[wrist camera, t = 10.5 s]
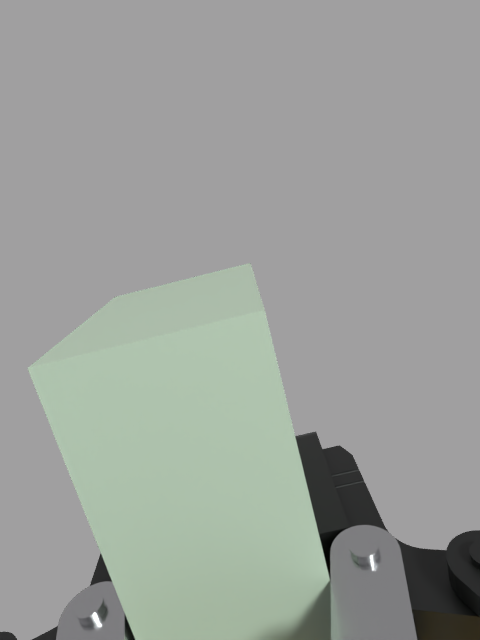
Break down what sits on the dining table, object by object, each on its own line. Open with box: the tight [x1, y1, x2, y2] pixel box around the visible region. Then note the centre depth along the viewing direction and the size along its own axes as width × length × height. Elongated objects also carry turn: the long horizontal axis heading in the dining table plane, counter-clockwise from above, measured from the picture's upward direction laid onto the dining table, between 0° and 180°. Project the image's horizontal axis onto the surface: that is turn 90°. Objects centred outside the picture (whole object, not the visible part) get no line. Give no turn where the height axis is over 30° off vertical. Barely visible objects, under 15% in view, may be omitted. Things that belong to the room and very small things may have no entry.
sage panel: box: [28, 263, 331, 640], centre depth 11 cm, size 4×5×16 cm
